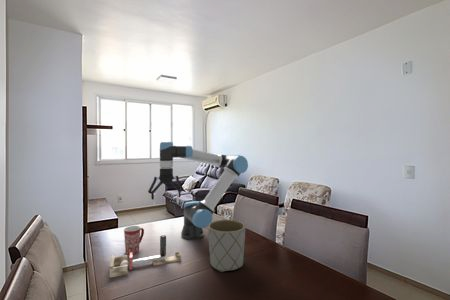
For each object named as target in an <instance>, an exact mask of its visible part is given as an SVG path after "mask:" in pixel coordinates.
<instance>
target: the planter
mask: <svg viewBox="0 0 450 300" xmlns="http://www.w3.org/2000/svg"><path fill="white" fill-rule="evenodd" d="M207 230H208V231H207V232H208V233H207V234H208V249H209V262H210V266H211V267H212V268H213V269H215V270H216V271H218V272H221V273H224V272H228V271H235V270H237V269H240V268H243V265H244V257H245V256H244V255H245V253H244V252H245V241H246V224H245V223H244V222H241V221H238V220H233V219H219V220H216V221H214V220H213V221H212V222H211V223H210V224H209V225H208V226H207Z"/></svg>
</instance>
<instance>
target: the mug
mask: <svg viewBox="0 0 450 300" xmlns="http://www.w3.org/2000/svg"><path fill="white" fill-rule="evenodd" d="M123 233H124V234H123V235H124V249H125V250H124V251H125V255H130V253H131V252H132V255H135V254H137V253H138V252H140V244H141V242H142V240H143V237H144V235H145V229H144V228H143V227H141V226H140V225H129V226H126V227H125V228H124V229H123Z"/></svg>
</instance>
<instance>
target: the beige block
mask: <svg viewBox="0 0 450 300" xmlns="http://www.w3.org/2000/svg"><path fill="white" fill-rule="evenodd" d="M124 260H127V261H128V254H125V255H119V256H115V255H114V254H113V255H111V256H110V261H109V263H110V264H109V278H115V277H116V278H117V277H120V276H126V275H128V268H127V265H124V266H120V264H121V262H122V261H124Z"/></svg>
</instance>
